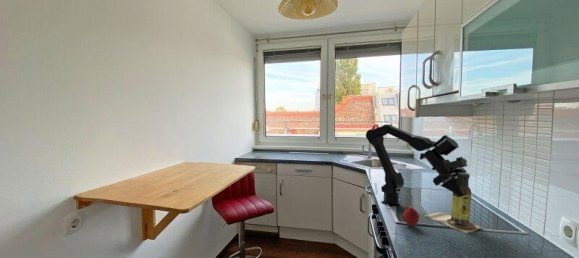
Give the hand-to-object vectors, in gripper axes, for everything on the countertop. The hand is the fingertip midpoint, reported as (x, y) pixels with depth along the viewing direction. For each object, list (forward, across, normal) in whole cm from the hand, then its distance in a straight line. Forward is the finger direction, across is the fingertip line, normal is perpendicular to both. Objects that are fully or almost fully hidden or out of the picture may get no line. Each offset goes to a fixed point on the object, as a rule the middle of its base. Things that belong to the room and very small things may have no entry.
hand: (465, 194), depth 100 cm
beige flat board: (+6, +1, +13) cm, 14 cm away
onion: (+1, -16, +19) cm, 25 cm away
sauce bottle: (+7, 0, +9) cm, 12 cm away
